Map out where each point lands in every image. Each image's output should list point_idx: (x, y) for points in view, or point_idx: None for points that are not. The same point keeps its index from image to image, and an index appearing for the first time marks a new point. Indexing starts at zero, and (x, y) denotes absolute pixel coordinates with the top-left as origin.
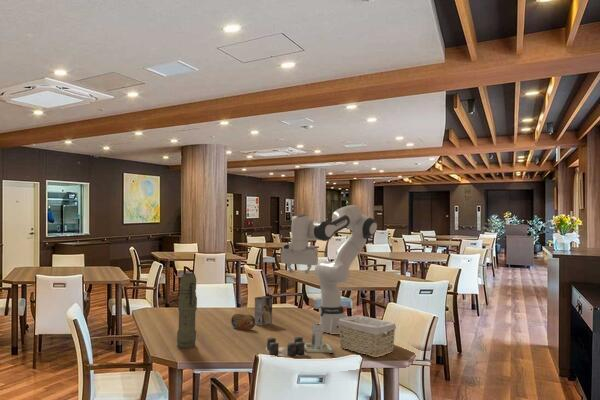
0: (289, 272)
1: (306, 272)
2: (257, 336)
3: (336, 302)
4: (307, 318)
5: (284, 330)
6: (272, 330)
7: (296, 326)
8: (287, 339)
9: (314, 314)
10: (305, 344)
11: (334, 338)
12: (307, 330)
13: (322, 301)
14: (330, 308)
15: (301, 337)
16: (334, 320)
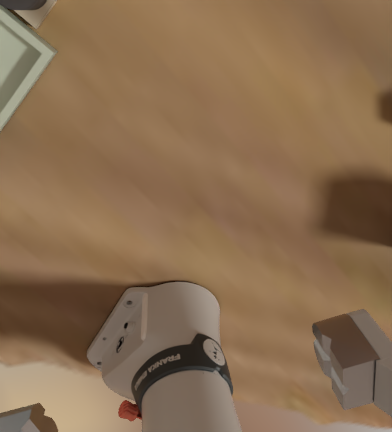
0: (350, 312)
1: (2, 429)
2: (348, 54)
3: (143, 418)
4: None
5: (311, 213)
6: (350, 180)
7: (309, 282)
8: (212, 115)
9: (347, 409)
10: (41, 55)
11: (90, 260)
12: (243, 271)
13: (210, 391)
14: (158, 374)
15: (7, 2)
16: (138, 339)
